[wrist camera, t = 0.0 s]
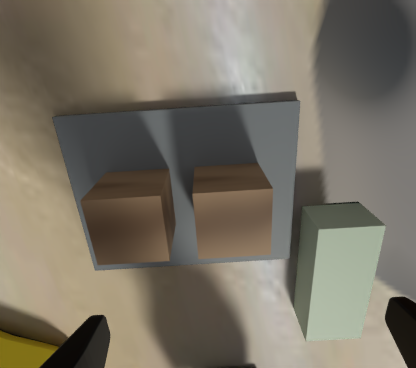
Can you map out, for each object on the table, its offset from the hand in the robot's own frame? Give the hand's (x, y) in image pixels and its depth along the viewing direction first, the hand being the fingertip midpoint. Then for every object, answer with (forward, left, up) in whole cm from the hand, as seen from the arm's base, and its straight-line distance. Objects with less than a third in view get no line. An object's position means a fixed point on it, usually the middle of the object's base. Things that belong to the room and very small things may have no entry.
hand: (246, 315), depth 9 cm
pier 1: (-2, +6, -14) cm, 16 cm away
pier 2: (-2, -1, -14) cm, 14 cm away
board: (-2, +3, -15) cm, 15 cm away
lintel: (-10, -10, -15) cm, 21 cm away
